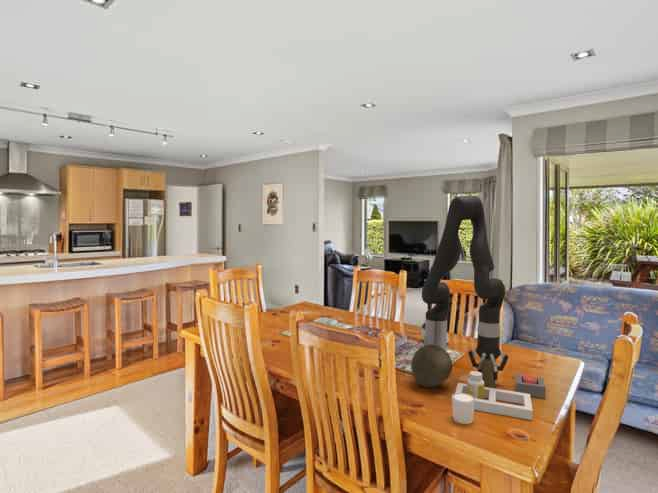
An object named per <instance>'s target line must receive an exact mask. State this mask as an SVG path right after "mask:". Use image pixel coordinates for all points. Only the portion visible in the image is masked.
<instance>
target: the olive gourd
mask: <svg viewBox="0 0 658 493" xmlns="http://www.w3.org/2000/svg"><path fill="white" fill-rule="evenodd" d="M493 363H494V362H492V361H491V359H486V358H485V359H484V360H483V361H482V364H481V365H482V367H481V370H482V372H481V373H482V380H483V381H484V387H488V388H495V389H497V387H496V386H497V385H496V380H495V381H494V375H493V372H494V368H493V367H494V365H493Z"/></svg>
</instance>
